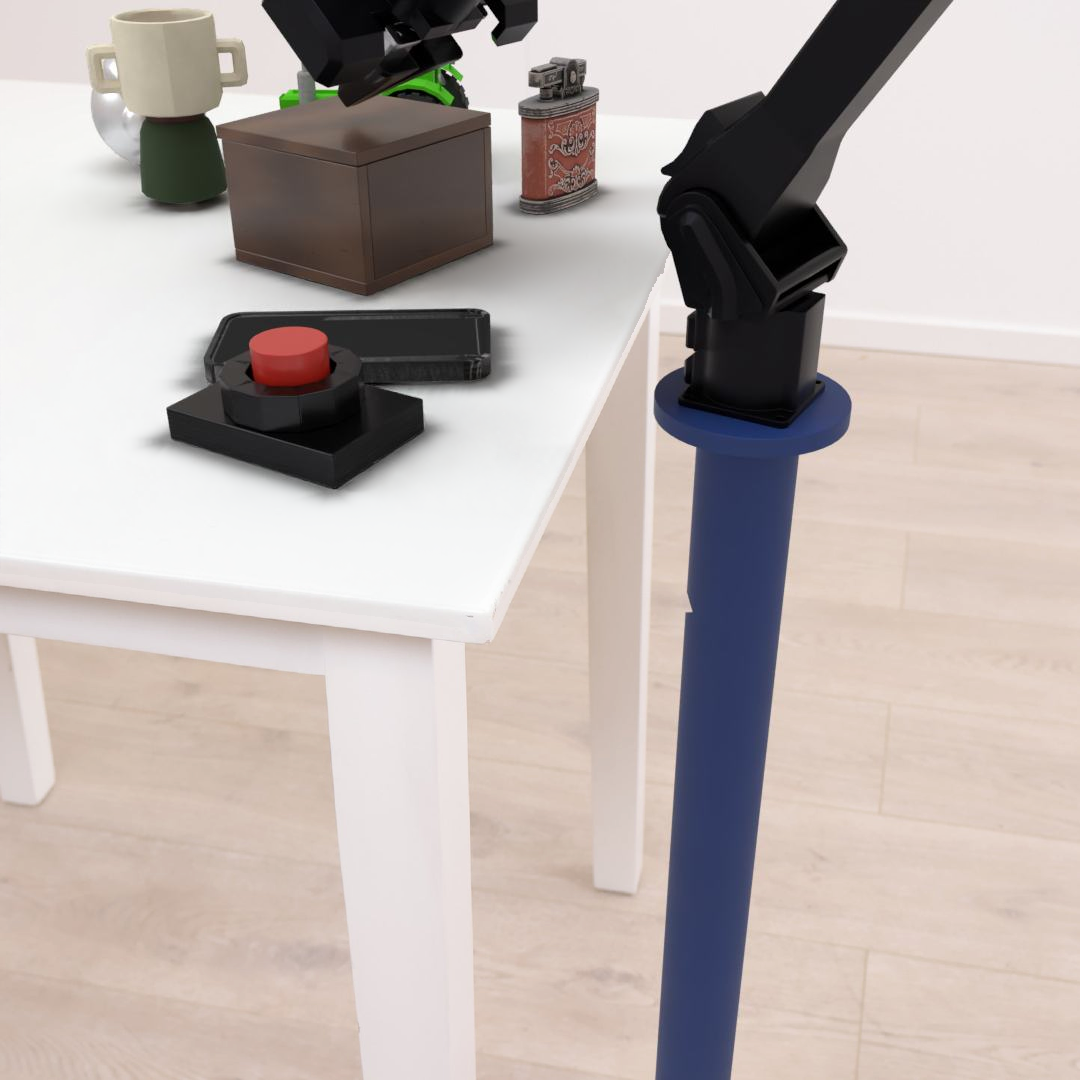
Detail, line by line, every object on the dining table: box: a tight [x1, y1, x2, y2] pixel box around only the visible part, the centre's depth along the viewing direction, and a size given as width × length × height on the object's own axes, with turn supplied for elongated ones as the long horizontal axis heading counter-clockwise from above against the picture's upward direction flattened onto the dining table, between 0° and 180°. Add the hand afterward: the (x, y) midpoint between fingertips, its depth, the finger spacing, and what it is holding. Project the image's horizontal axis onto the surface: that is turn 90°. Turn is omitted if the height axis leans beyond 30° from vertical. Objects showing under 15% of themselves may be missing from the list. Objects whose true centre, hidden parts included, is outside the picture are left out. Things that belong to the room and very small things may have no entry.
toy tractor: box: [278, 61, 470, 110], centre depth 103 cm, size 11×16×10 cm
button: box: [249, 327, 331, 386], centre depth 61 cm, size 4×4×2 cm
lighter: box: [517, 56, 600, 215], centre depth 95 cm, size 8×3×10 cm, turn 145°
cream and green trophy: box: [85, 7, 249, 205], centre depth 94 cm, size 11×7×13 cm, turn 105°
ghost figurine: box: [90, 58, 207, 166], centre depth 104 cm, size 9×10×10 cm
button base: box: [165, 344, 425, 489], centre depth 62 cm, size 10×7×4 cm
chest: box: [221, 125, 494, 297], centre depth 85 cm, size 12×13×8 cm
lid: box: [215, 95, 492, 166], centre depth 83 cm, size 12×13×1 cm
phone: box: [203, 307, 492, 385], centre depth 71 cm, size 8×1×15 cm
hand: (345, 100), depth 83 cm, fingers closed
